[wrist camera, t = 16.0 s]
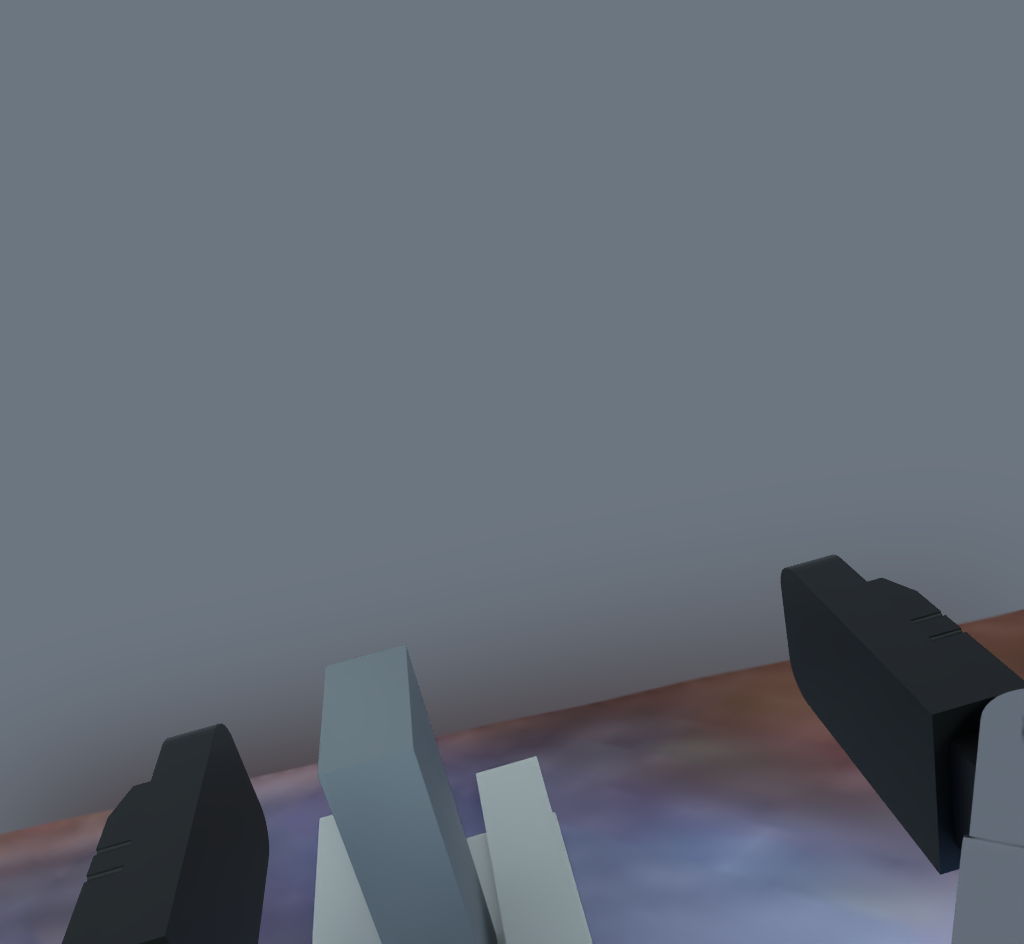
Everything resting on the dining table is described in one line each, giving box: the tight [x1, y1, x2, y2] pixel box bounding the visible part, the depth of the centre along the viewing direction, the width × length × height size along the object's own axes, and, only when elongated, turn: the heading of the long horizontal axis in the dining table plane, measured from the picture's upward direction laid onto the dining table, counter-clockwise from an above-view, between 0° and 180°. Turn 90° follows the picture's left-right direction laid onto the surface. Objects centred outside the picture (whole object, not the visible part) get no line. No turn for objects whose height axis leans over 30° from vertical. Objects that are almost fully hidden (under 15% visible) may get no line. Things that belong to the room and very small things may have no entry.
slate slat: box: [318, 645, 498, 944], centre depth 33 cm, size 3×6×15 cm, turn 9°
